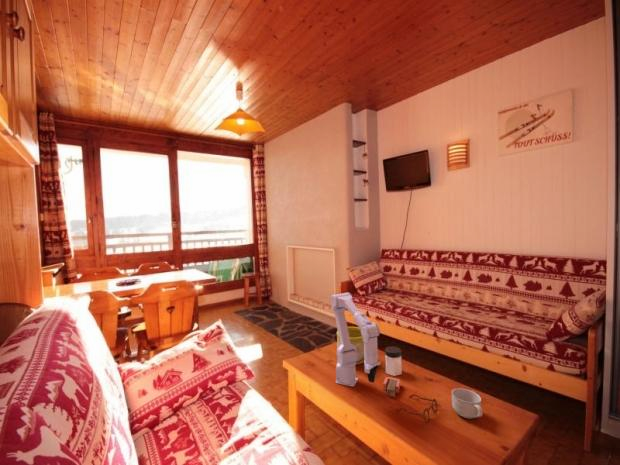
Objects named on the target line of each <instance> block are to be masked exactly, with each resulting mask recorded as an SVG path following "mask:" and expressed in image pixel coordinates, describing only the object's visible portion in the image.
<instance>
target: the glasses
mask: <svg viewBox="0 0 620 465" xmlns="http://www.w3.org/2000/svg"><path fill="white" fill-rule="evenodd" d="M412 397H417V398H418V399H420V400H422V401H423V400H425V401H429V402H431V404H430V406H429V407H428V408H424V409H423V413H418V412H414V411H409V410H408V409H406V408H403V407H399V408H397V409H395V410H394V411H395V412H399V411H401V410H402V411H404V412H407V413H408V414H410V415H415V416H419V417H422V418H423V421H424V422H425V423H428V422H429V420H430V410H432V412H433V413H435V412H437V410H438V402H437V399H436V398H432V399H431V398H426V397H421V396H420V395H417V394H414V393H413V394H411V395H410V396H408V398H412ZM434 402H435V408H434ZM426 411H427V419H426V415H425V414H426Z"/></svg>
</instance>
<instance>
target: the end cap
mask: <svg viewBox="0 0 620 465" xmlns="http://www.w3.org/2000/svg"><path fill="white" fill-rule="evenodd" d="M390 379H393V380H397V383H396V393H397V394H398V393H399V392H400V388H401V379H399V378H393V377H389V376H385V378H384V381H383V383H382V385H383V386H382V387H383V390H384V391H387V387H388V384H389V381H390ZM396 393H395V394H396Z"/></svg>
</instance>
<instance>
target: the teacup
mask: <svg viewBox="0 0 620 465" xmlns="http://www.w3.org/2000/svg"><path fill="white" fill-rule="evenodd" d="M451 405H452V409H453V410H454V411H455V412H456V414H458V415H459V416H460V417H463V418H465V419H472V420H473V419H476V418H481V417H482V416H483V415H484V414H483V413H484V412H483V409H482V397H481V396H480V395H479V394H478V393H476V391H473V390H470V389H466V388H460V387H459V388H454V389H452V390H451Z"/></svg>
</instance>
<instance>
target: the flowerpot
mask: <svg viewBox="0 0 620 465" xmlns="http://www.w3.org/2000/svg"><path fill="white" fill-rule="evenodd" d="M347 328H348V333H349V338H350V343H351V344H352V345H354V346H355V347H356V350H357V352H358V355H359V359H358V361H357V362H356V364H355V366H357V365H360V364H362V363H364V360H365V358H364V341H363V337H362V334H361V329H360V328H359V326H347ZM336 340H337V342H336V348H337V349H338V348H339V346H340V345H341V344H340V339H339V334H338V329H337V331H336ZM337 349H336V350H337ZM346 351H348V350H346Z"/></svg>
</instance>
